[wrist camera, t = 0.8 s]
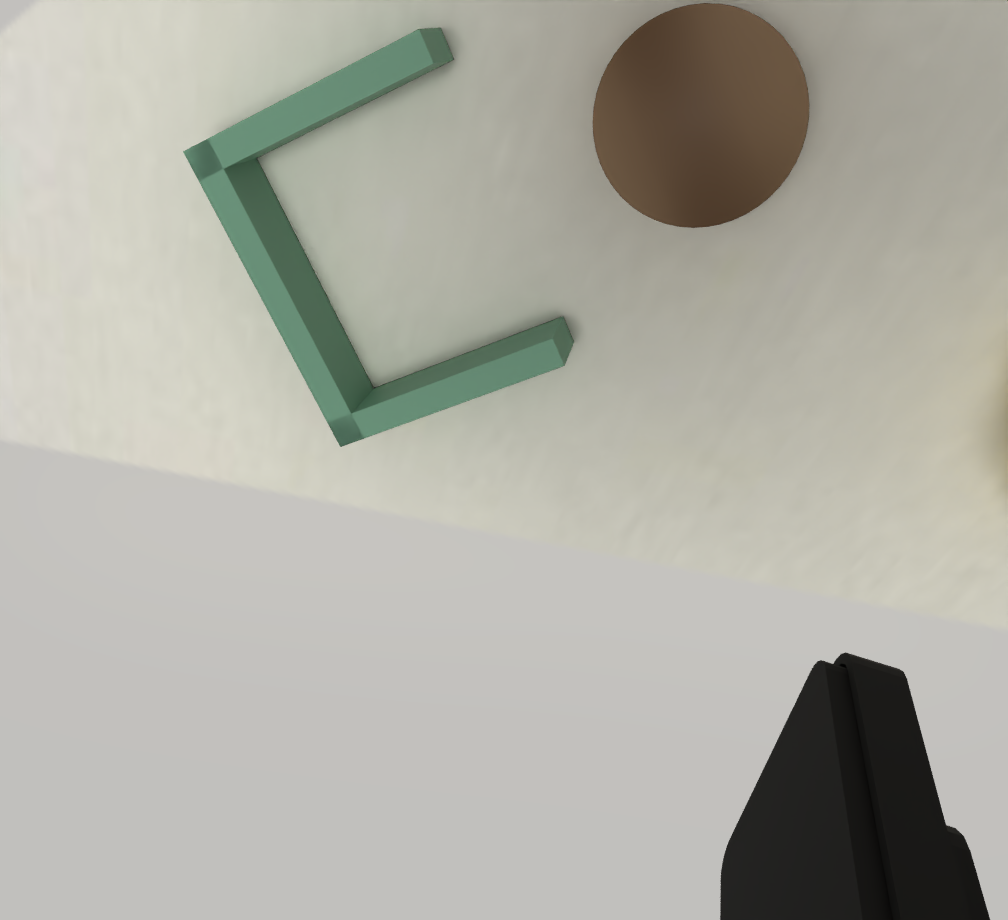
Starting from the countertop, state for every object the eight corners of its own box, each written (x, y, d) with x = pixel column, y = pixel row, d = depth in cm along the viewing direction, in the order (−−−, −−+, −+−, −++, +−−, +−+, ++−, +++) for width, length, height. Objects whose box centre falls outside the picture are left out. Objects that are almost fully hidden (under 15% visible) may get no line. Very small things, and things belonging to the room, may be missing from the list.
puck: (763, -34, 28) (769, -38, 25) (825, 164, 30) (836, 179, 27) (574, 57, 30) (560, 62, 27) (642, 237, 32) (636, 257, 29)
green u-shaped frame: (440, 27, 30) (418, 29, 28) (573, 342, 33) (564, 365, 31) (218, 142, 33) (183, 151, 31) (362, 420, 36) (340, 446, 34)
